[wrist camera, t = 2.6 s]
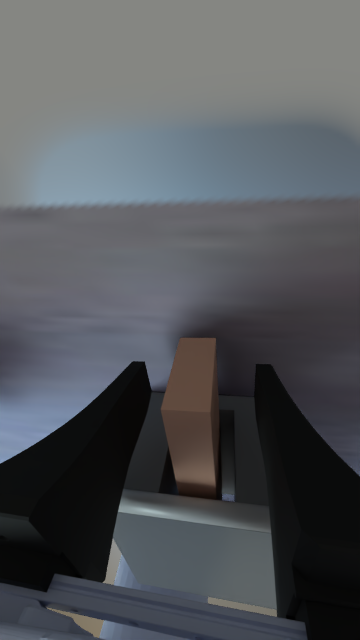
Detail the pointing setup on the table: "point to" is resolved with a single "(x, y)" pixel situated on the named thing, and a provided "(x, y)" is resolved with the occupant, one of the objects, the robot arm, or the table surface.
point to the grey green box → (200, 515)
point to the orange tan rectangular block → (194, 419)
